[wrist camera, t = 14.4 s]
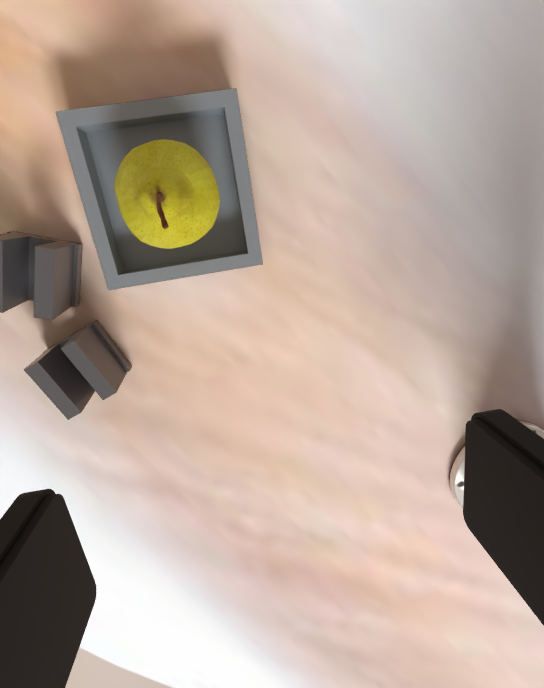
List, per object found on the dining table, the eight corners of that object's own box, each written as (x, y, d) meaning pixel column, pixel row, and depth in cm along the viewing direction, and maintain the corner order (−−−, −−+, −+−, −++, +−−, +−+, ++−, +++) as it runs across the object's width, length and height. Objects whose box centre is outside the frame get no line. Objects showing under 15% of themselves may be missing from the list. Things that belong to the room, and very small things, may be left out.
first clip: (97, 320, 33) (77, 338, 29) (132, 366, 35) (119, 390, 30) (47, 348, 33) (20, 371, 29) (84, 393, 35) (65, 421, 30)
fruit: (115, 157, 29) (52, 124, 17) (207, 140, 29) (202, 98, 18) (143, 250, 31) (103, 275, 20) (227, 233, 32) (234, 248, 20)
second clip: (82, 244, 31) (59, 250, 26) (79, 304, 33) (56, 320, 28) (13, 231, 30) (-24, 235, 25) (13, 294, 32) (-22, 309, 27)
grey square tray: (234, 99, 29) (236, 88, 26) (258, 259, 33) (262, 264, 31) (71, 121, 28) (55, 111, 25) (117, 283, 32) (108, 290, 30)
